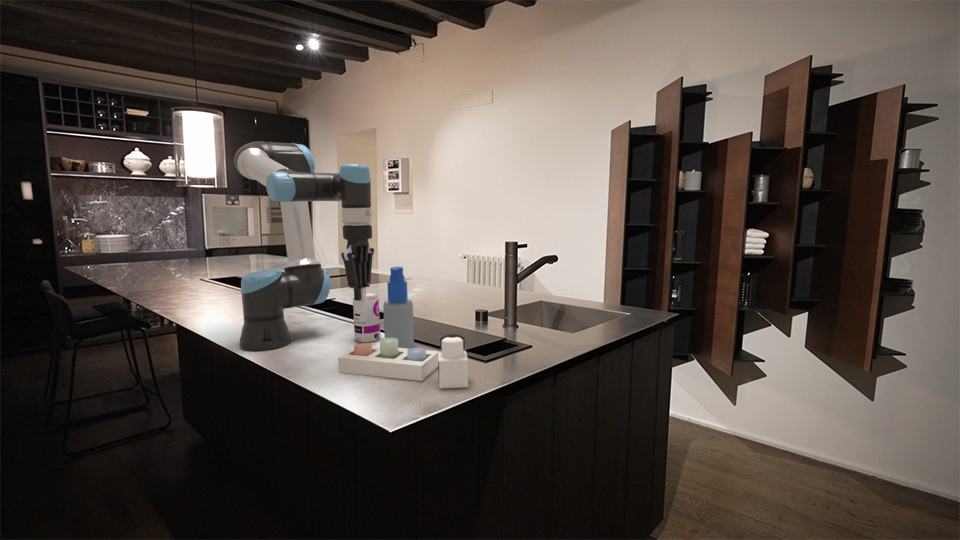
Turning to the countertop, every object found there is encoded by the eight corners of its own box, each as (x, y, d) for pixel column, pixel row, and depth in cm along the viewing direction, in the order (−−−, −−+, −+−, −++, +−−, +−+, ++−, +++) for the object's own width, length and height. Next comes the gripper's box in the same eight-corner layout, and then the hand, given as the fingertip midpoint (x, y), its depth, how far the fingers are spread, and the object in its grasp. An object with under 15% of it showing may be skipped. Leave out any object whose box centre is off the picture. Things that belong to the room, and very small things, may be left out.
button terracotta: (351, 365, 131) (350, 347, 130) (360, 359, 135) (359, 342, 135) (366, 366, 130) (366, 348, 129) (375, 361, 134) (375, 343, 133)
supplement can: (383, 336, 162) (381, 292, 159) (375, 343, 153) (373, 297, 151) (359, 335, 162) (357, 292, 160) (351, 342, 154) (348, 296, 152)
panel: (338, 372, 128) (337, 357, 128) (362, 357, 139) (361, 344, 139) (421, 381, 121) (421, 365, 121) (439, 365, 133) (439, 351, 132)
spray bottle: (394, 342, 155) (391, 264, 151) (419, 344, 152) (416, 265, 148) (379, 350, 146) (376, 268, 143) (405, 353, 143) (403, 270, 140)
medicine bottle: (438, 378, 123) (437, 332, 121) (466, 377, 124) (466, 331, 122) (438, 389, 116) (437, 340, 114) (468, 387, 117) (467, 339, 115)
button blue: (404, 370, 126) (404, 352, 126) (412, 364, 131) (412, 346, 130) (421, 372, 125) (421, 353, 124) (429, 366, 129) (428, 348, 129)
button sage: (377, 360, 128) (376, 341, 128) (385, 354, 133) (385, 336, 132) (393, 361, 127) (392, 343, 126) (401, 355, 131) (401, 338, 131)
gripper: (356, 225, 120) (360, 318, 123) (381, 222, 132) (384, 306, 136) (330, 225, 122) (334, 316, 125) (357, 222, 134) (361, 305, 138)
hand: (360, 311), depth 131 cm, fingers closed
